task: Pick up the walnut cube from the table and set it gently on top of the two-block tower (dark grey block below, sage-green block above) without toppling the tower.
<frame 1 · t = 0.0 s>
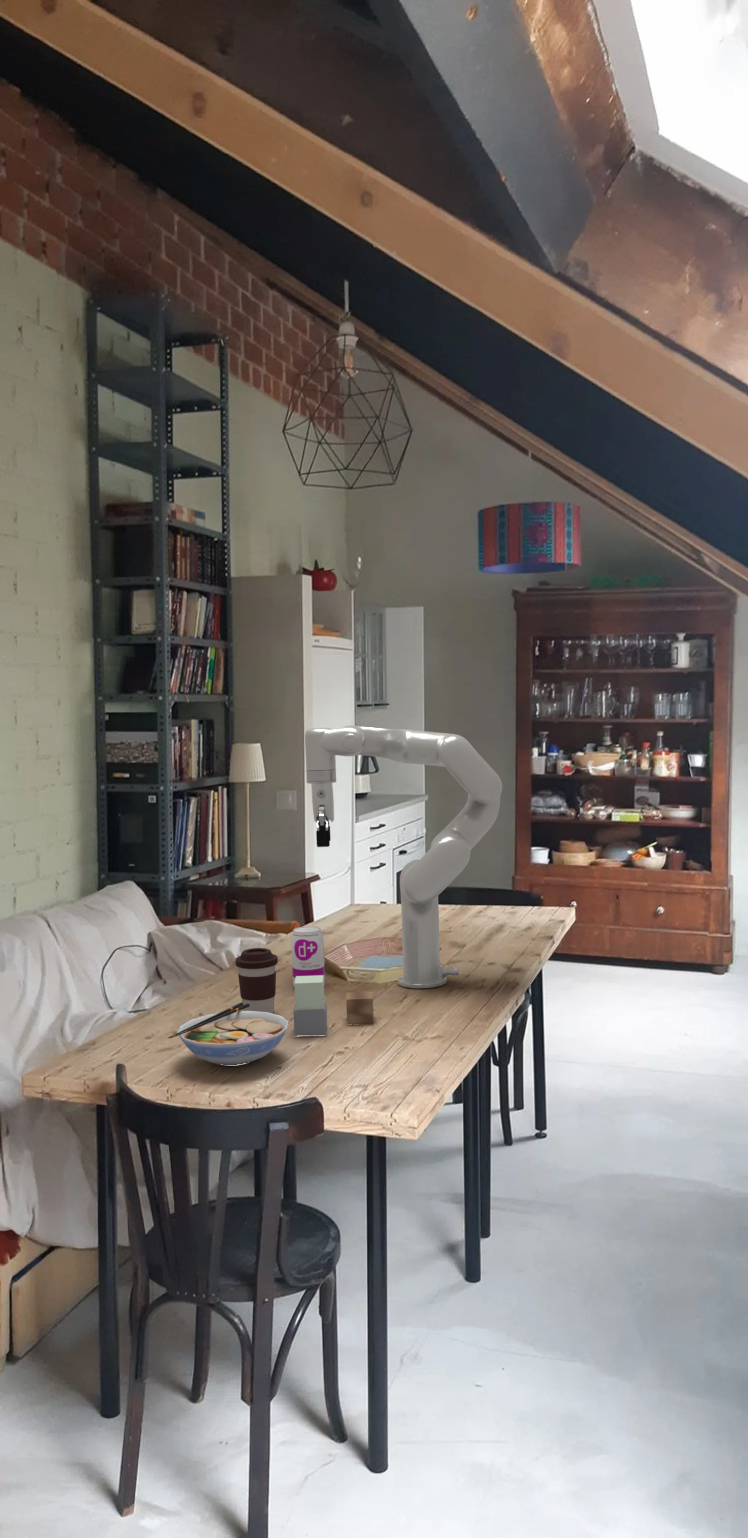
hand: (323, 843, 286), 37 cm above the table, tool pointing down, fingers open, 9 cm apart
tower mid: (310, 1005, 250), point 6 cm above the table, touching tower base
supplement can: (309, 987, 288), on the table
ramen bowl: (235, 1062, 232), on the table
walnut cube: (360, 1021, 257), on the table
tower base: (311, 1032, 250), on the table, touching tower mid
coffee cup: (258, 1014, 266), on the table
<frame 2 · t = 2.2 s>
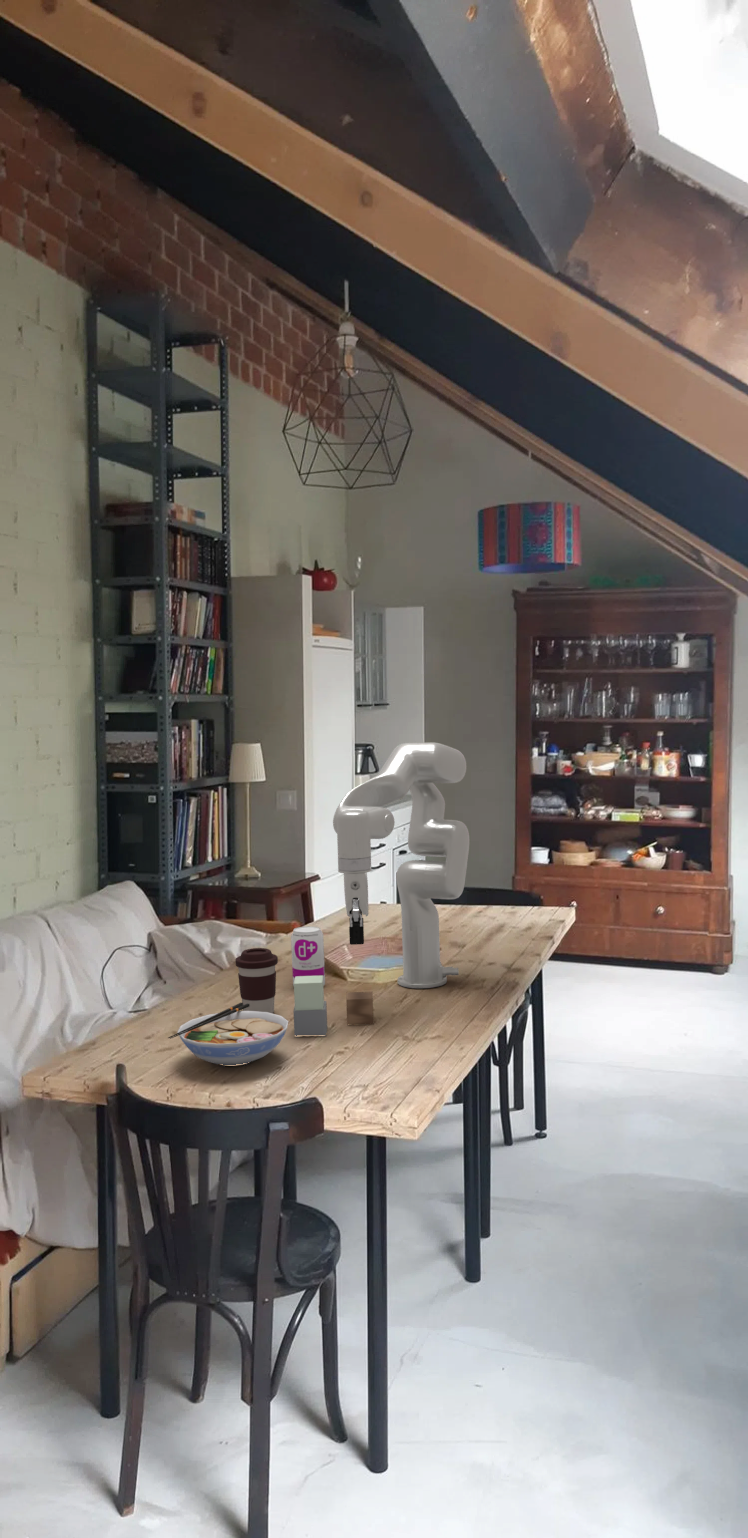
hand: (356, 939, 256), 19 cm above the table, tool pointing down, fingers open, 9 cm apart
nothing on the table moved.
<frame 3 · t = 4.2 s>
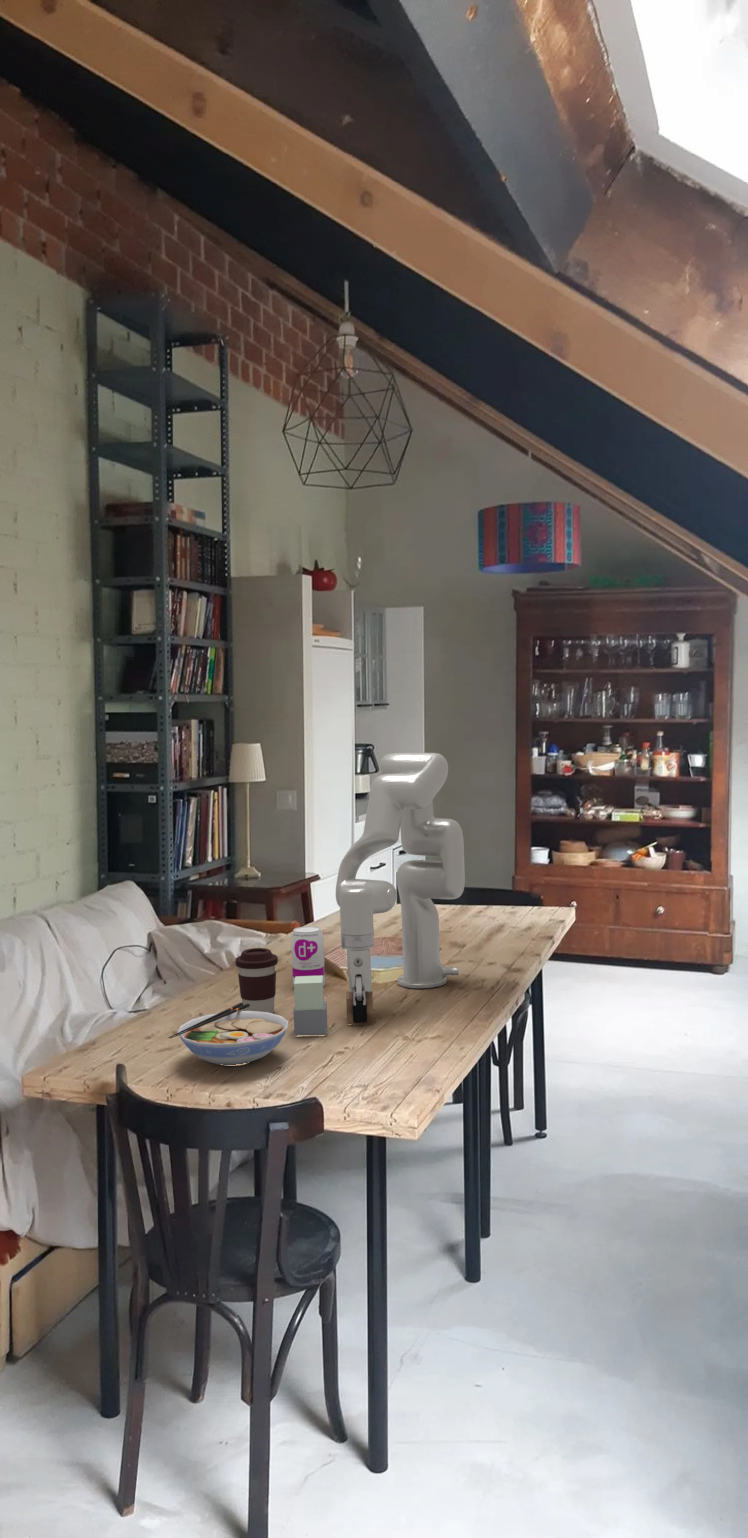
hand: (360, 1017, 257), 1 cm above the table, tool pointing down, fingers closed on walnut cube, 6 cm apart
walnut cube: (360, 1020, 257), on the table, touching gripper
everything else where it was.
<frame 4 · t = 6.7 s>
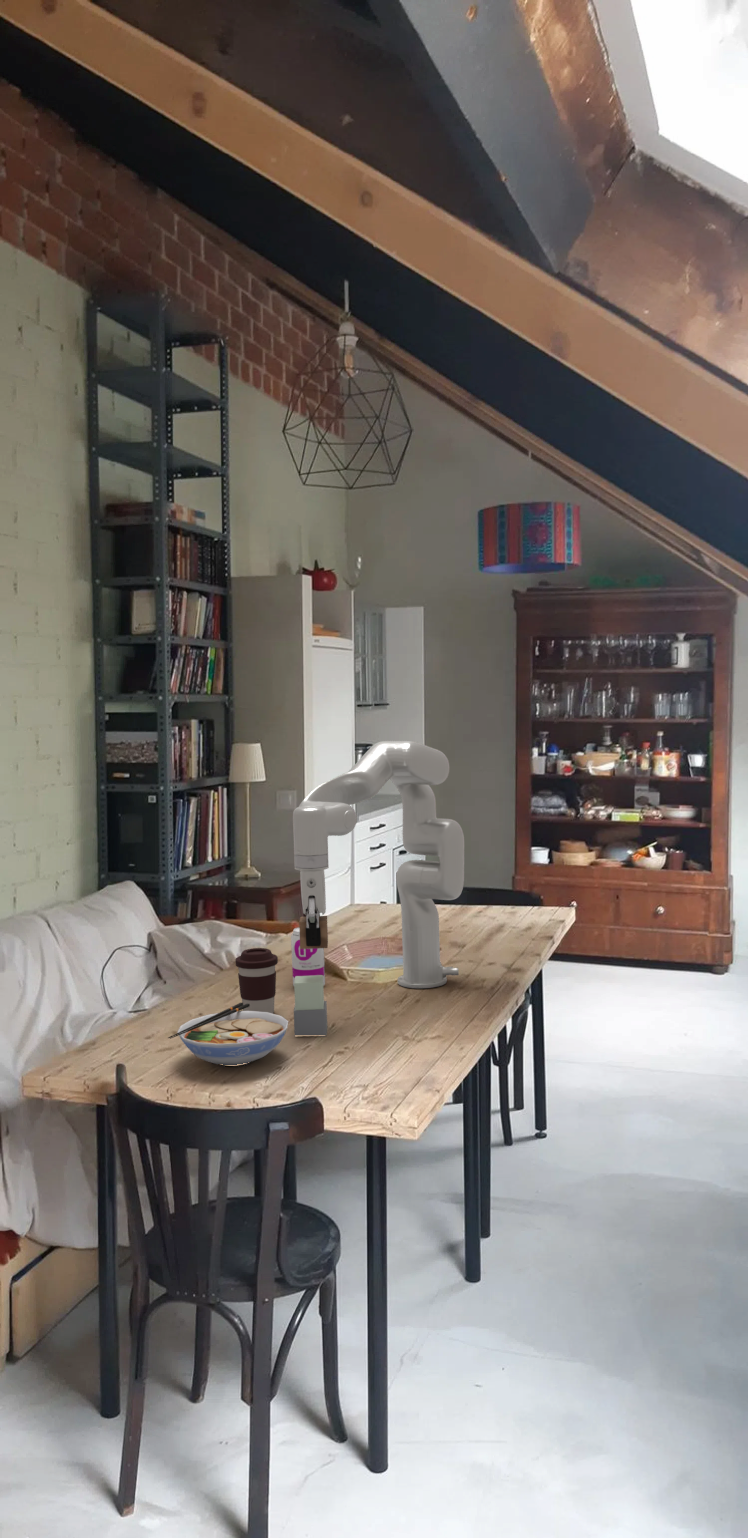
hand: (314, 941, 250), 20 cm above the table, tool pointing down, fingers closed on walnut cube, 6 cm apart
walnut cube: (314, 945, 250), point 19 cm above the table, touching gripper
everything else where it was.
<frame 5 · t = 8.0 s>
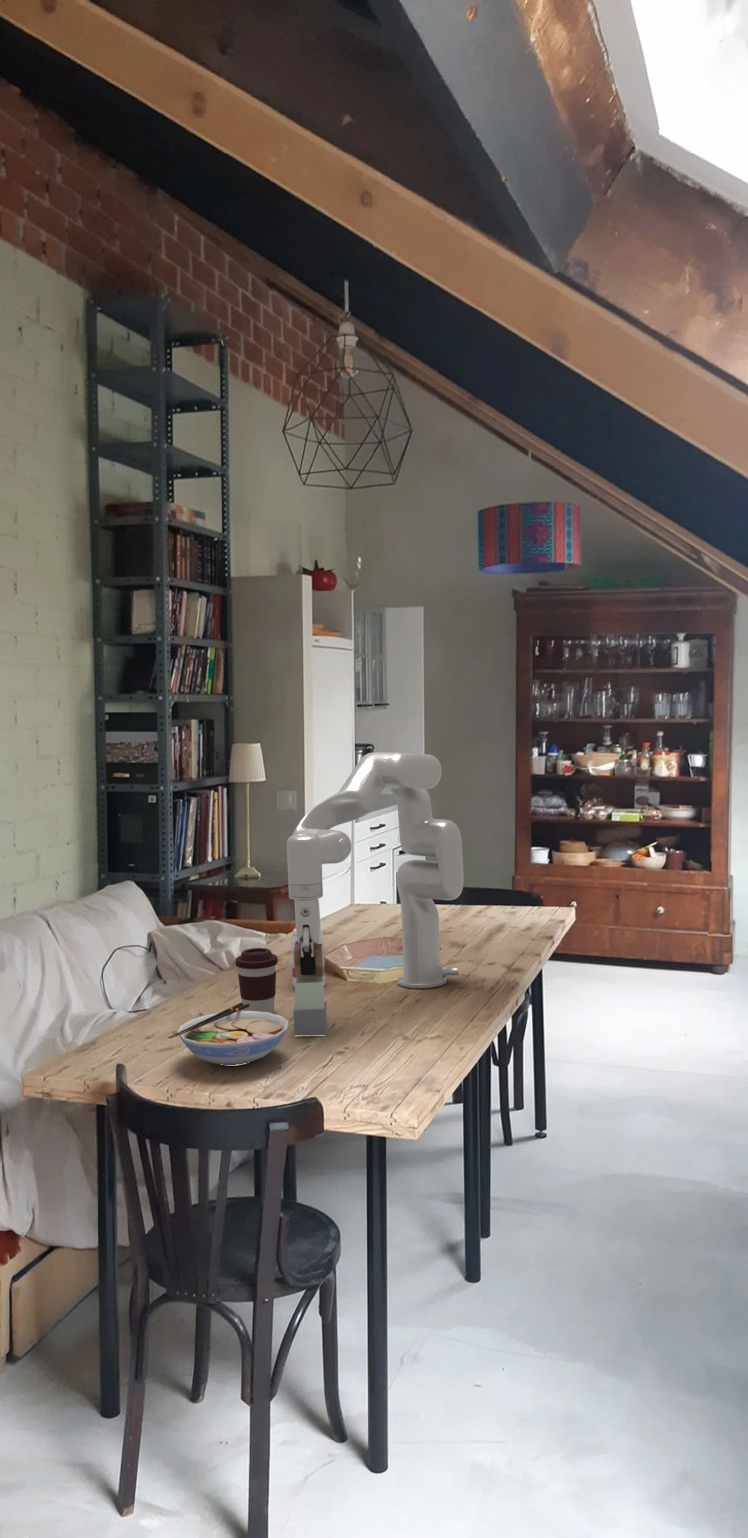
hand: (308, 969, 249), 14 cm above the table, tool pointing down, fingers closed on walnut cube, 6 cm apart
walnut cube: (309, 973, 249), point 13 cm above the table, touching gripper
everything else where it was.
when the fingers open (14 cm above the table, at t = 9.0 s): walnut cube drops 1 cm, resting on tower mid.
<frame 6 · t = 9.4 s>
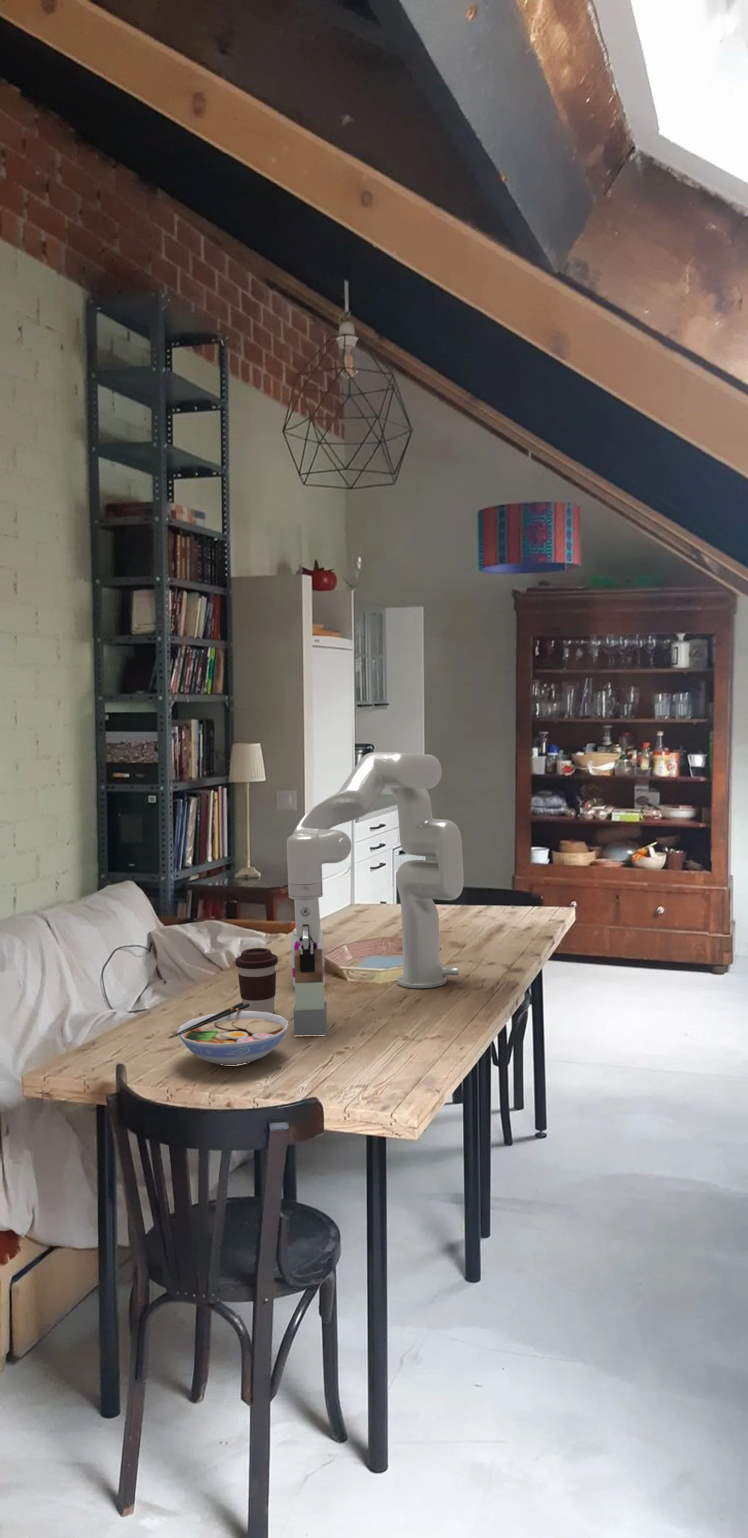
hand: (308, 966, 249), 15 cm above the table, tool pointing down, fingers open, 9 cm apart
tower mid: (310, 1005, 250), point 6 cm above the table, touching tower base, walnut cube
walnut cube: (309, 979, 250), point 12 cm above the table, touching tower mid
everything else where it was.
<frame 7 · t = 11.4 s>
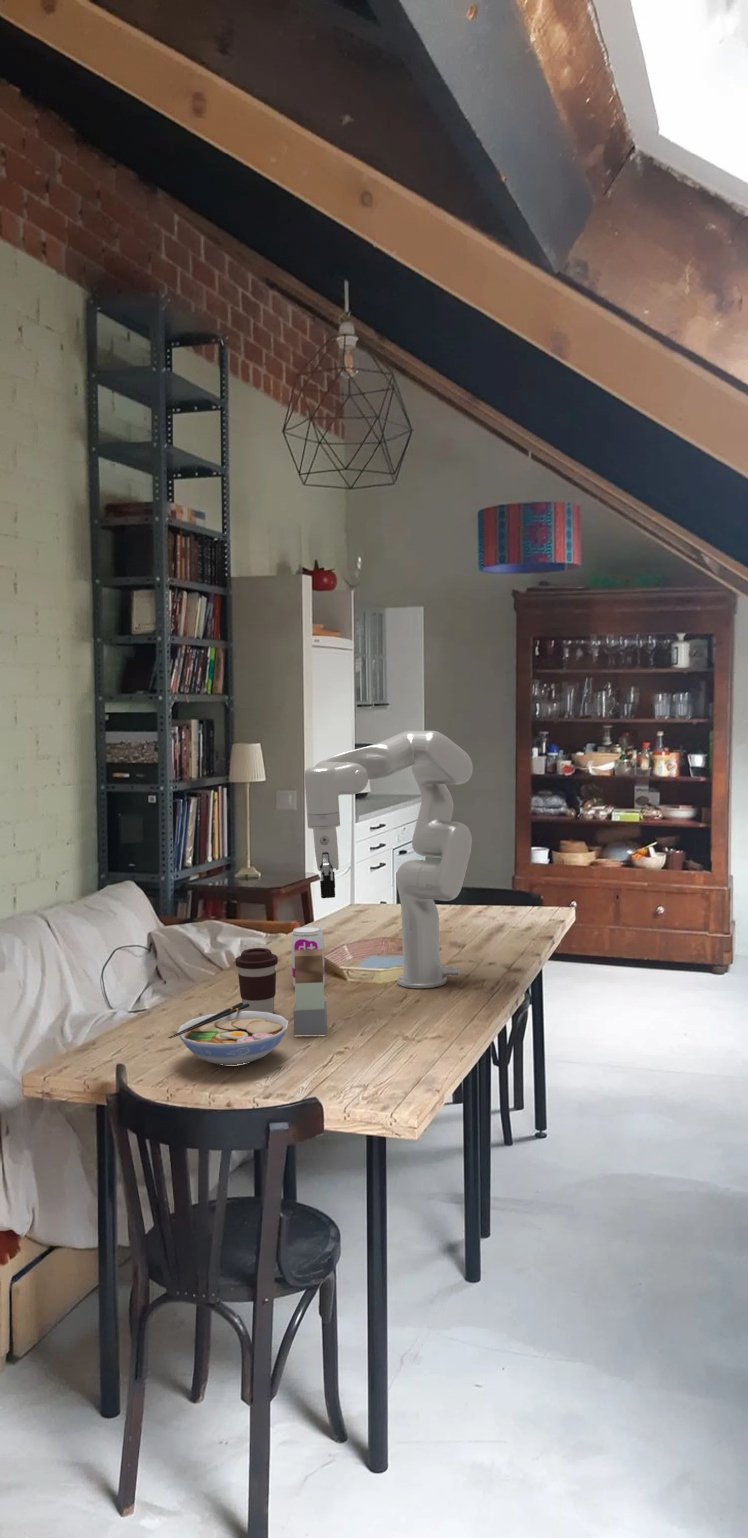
hand: (328, 893, 261), 29 cm above the table, tool pointing down, fingers open, 9 cm apart
nothing on the table moved.
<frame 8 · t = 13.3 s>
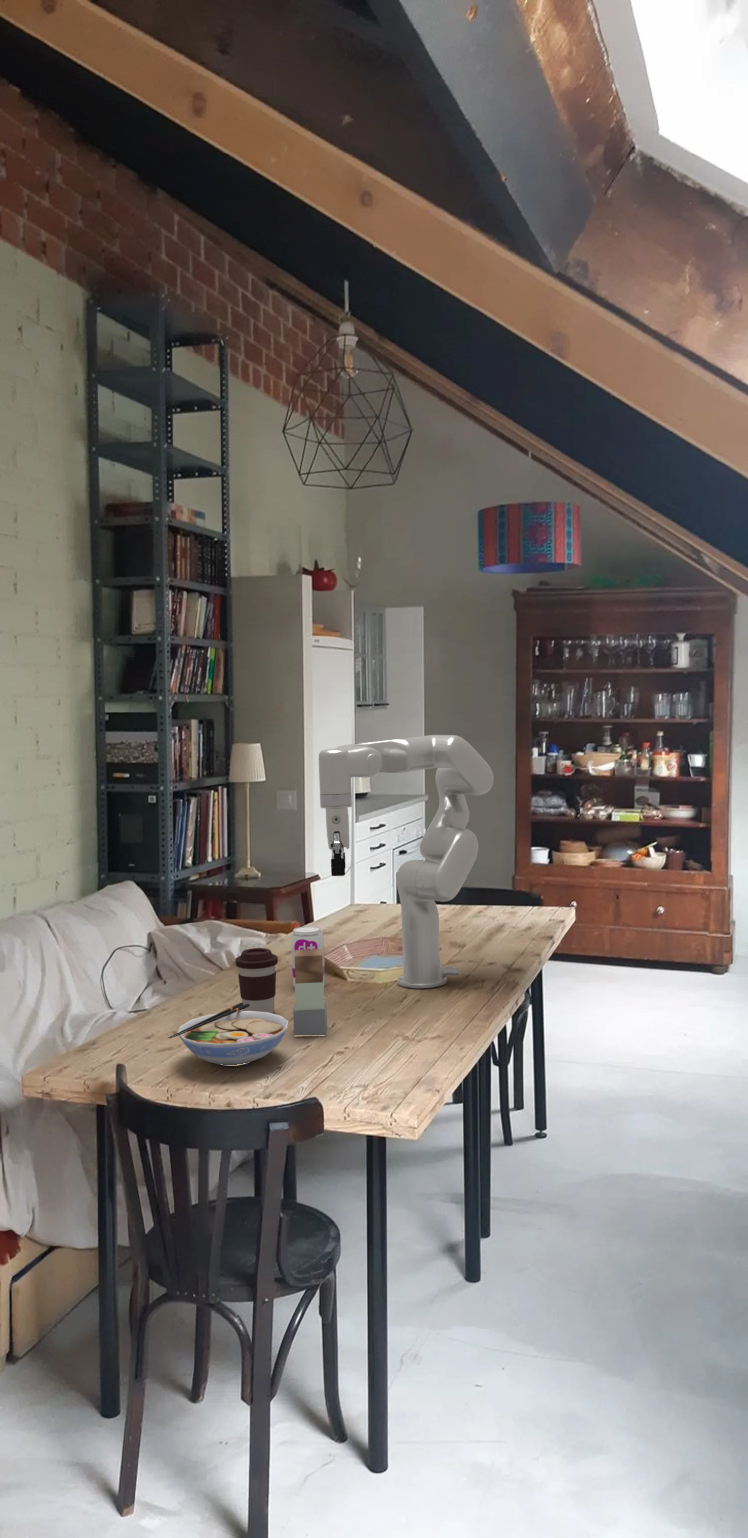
hand: (338, 872, 268), 32 cm above the table, tool pointing down, fingers open, 9 cm apart
nothing on the table moved.
at the end: walnut cube 0.2 cm off-centre on the tower base, point 12.0 cm above the tower base's base; tower mid tilted 0°; tower base moved 0.1 cm from its start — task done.
